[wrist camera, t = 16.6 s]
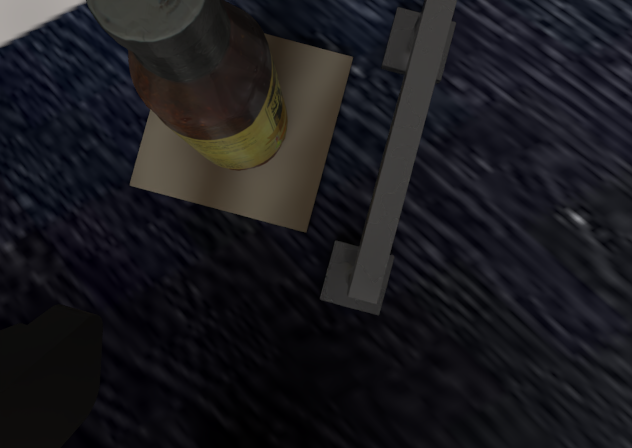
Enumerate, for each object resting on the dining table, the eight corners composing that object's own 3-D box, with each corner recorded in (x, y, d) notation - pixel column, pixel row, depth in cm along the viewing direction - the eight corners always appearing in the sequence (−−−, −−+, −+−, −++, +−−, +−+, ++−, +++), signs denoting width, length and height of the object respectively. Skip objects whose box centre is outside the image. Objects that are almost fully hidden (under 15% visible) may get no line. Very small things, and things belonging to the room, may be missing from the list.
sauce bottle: (306, 143, 37) (297, 32, 17) (223, 190, 37) (119, 133, 17) (256, 57, 37) (191, -150, 17) (174, 104, 37) (14, -51, 17)
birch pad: (352, 60, 38) (353, 57, 37) (306, 232, 38) (306, 232, 37) (180, 15, 38) (177, 10, 37) (133, 186, 38) (129, 185, 37)
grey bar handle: (453, 27, 38) (485, -23, 31) (377, 313, 38) (392, 331, 30) (395, 11, 38) (414, -41, 31) (319, 298, 38) (320, 312, 30)
